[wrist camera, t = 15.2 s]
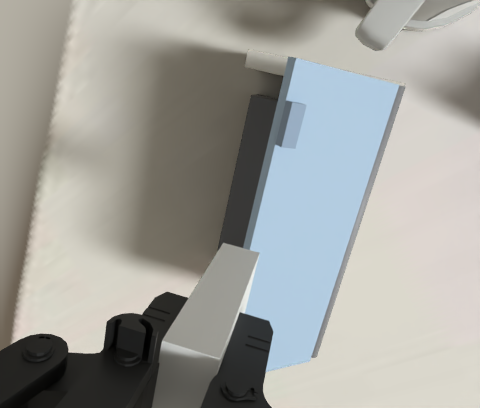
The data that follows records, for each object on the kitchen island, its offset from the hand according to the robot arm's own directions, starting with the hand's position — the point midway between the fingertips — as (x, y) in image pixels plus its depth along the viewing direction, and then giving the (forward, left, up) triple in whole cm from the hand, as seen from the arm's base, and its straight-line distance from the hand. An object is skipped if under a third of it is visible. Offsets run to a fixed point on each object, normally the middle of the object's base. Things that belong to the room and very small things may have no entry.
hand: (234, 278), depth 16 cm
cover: (0, +2, -7) cm, 8 cm away
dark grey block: (0, -1, -16) cm, 16 cm away
